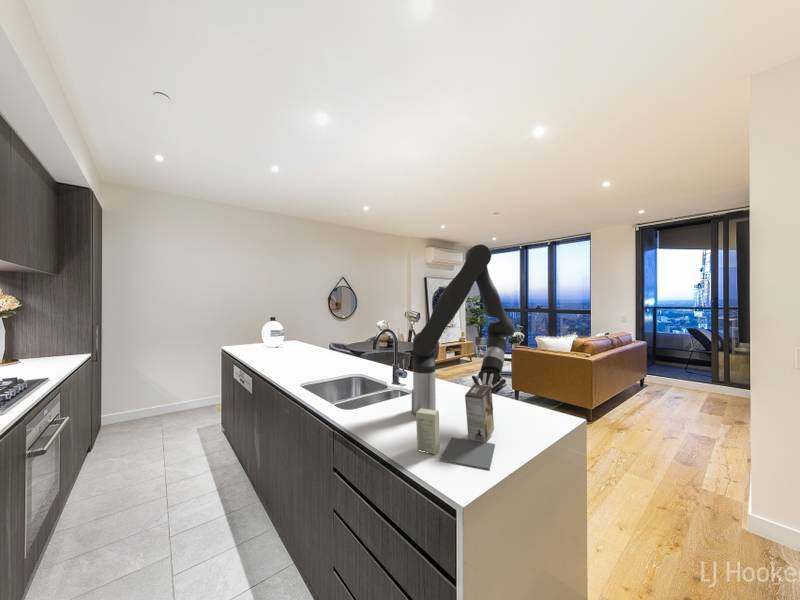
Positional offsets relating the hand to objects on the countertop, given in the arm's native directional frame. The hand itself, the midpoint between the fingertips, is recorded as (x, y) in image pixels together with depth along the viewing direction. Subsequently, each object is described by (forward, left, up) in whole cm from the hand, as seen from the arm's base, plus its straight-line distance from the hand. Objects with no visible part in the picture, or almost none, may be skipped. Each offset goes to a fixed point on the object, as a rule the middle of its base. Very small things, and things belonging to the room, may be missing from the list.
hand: (484, 401), depth 111 cm
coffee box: (-1, -3, -11) cm, 11 cm away
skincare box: (-15, -19, -11) cm, 26 cm away
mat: (-3, -16, -11) cm, 19 cm away
